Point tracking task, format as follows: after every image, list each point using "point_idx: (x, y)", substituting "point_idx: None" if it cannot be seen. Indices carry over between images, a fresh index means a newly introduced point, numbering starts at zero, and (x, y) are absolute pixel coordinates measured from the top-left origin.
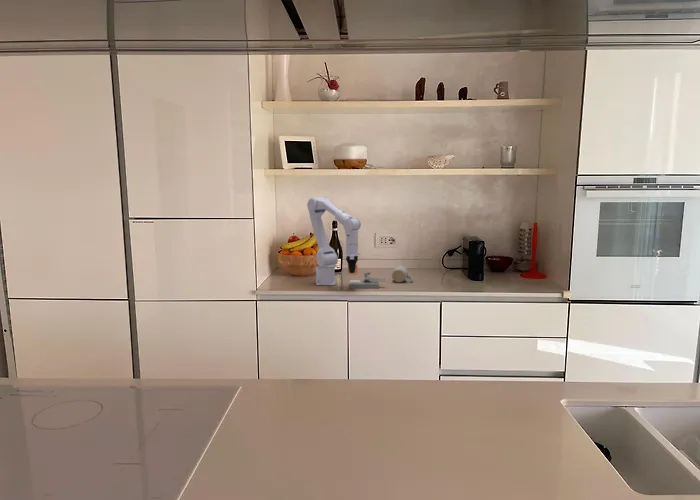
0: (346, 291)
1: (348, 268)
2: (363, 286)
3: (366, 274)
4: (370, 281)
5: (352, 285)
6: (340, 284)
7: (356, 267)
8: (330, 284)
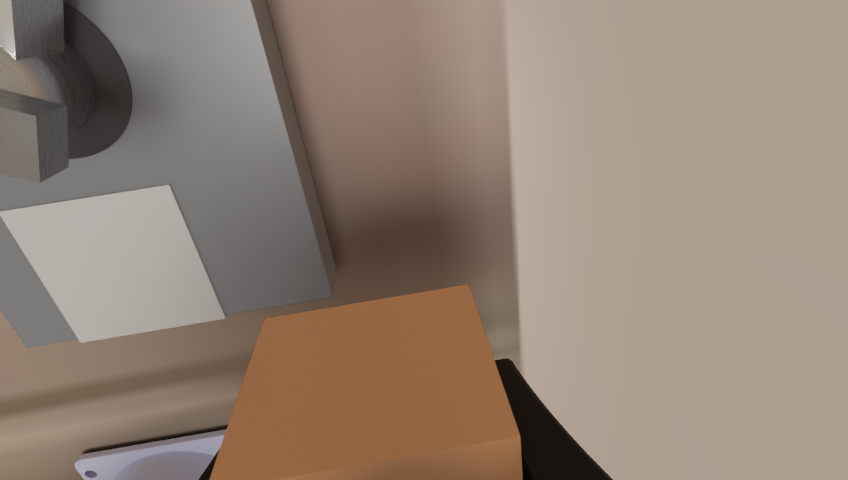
0: (497, 274)
1: None
2: (289, 108)
3: (48, 114)
4: None
5: (326, 260)
6: (166, 391)
7: (512, 422)
8: None
